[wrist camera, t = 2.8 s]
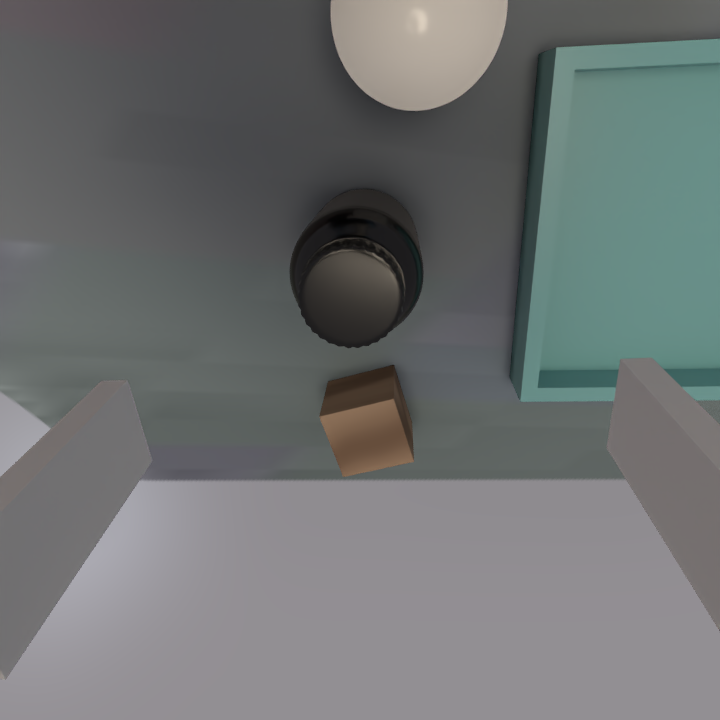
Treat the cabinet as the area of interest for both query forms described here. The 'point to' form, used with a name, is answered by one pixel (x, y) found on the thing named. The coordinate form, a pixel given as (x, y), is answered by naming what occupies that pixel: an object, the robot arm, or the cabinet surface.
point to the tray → (621, 221)
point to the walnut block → (367, 421)
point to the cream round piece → (417, 47)
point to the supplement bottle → (357, 268)
